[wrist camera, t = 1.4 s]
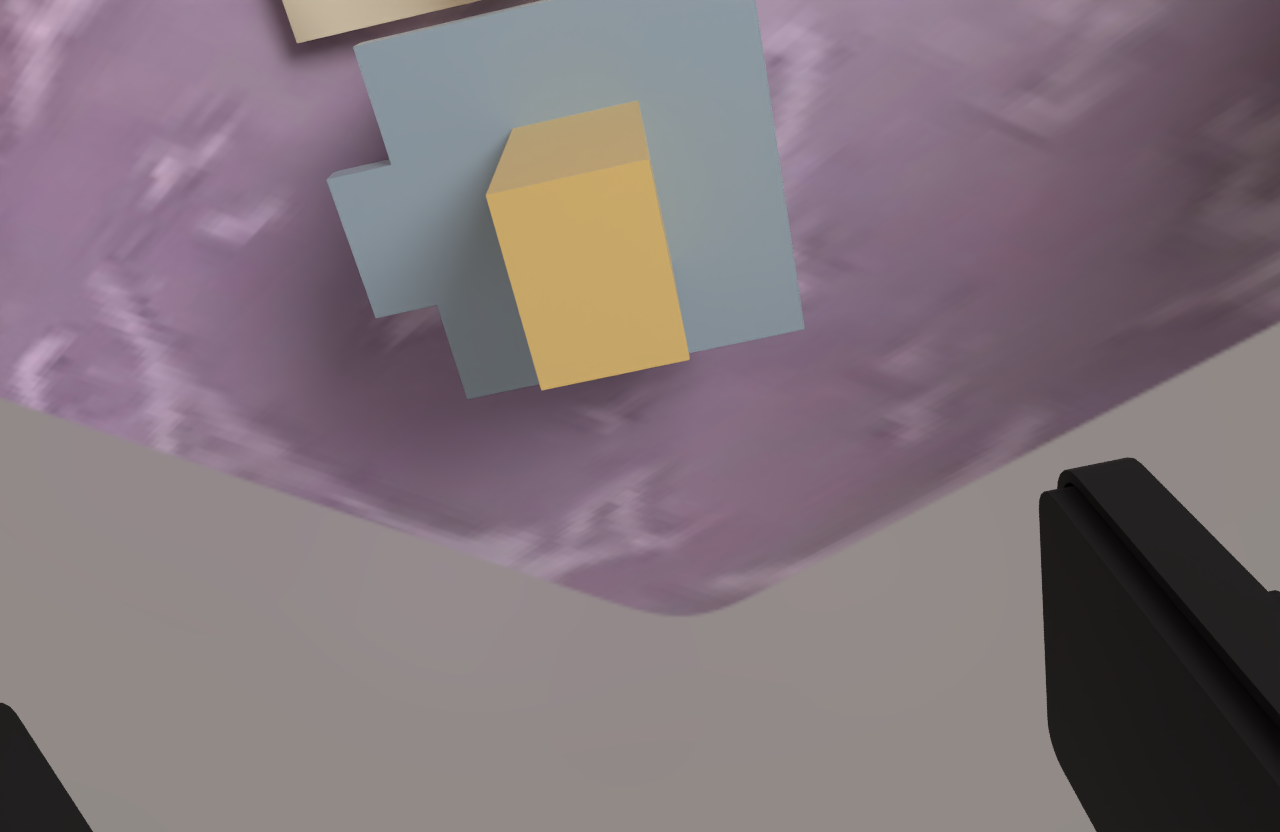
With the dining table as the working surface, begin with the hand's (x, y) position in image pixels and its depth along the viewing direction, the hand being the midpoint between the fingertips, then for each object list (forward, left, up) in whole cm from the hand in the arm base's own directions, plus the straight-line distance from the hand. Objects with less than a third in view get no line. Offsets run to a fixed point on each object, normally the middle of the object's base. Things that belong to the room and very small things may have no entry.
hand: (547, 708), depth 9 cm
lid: (0, 0, -18) cm, 18 cm away
